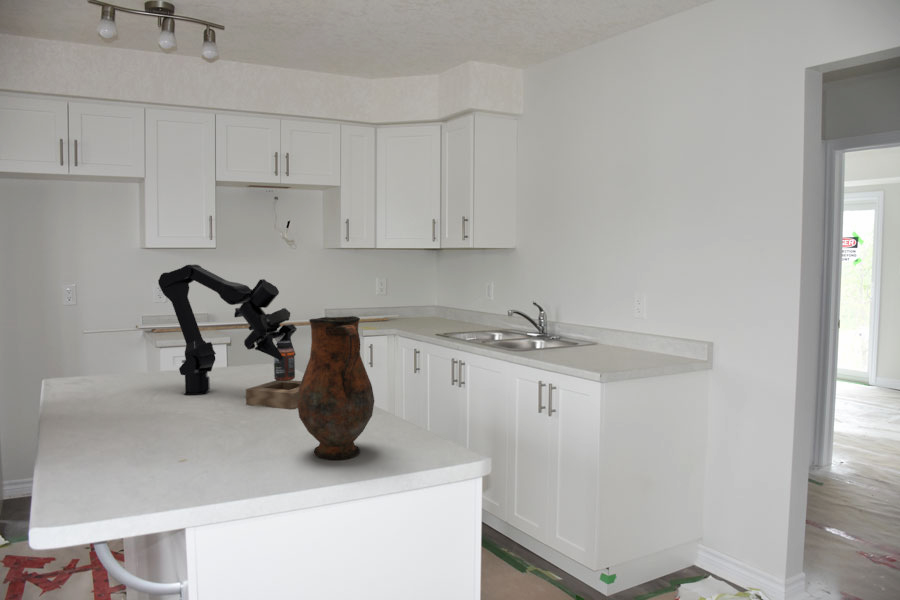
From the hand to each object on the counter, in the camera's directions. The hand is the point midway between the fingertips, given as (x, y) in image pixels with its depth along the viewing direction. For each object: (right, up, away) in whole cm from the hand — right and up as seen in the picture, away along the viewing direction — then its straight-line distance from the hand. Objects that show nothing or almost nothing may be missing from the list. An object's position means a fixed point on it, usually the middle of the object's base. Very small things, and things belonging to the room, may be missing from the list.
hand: (288, 357), depth 198 cm
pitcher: (+24, -17, -52) cm, 59 cm away
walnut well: (-1, -13, +2) cm, 13 cm away
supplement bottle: (-1, -7, +1) cm, 7 cm away
